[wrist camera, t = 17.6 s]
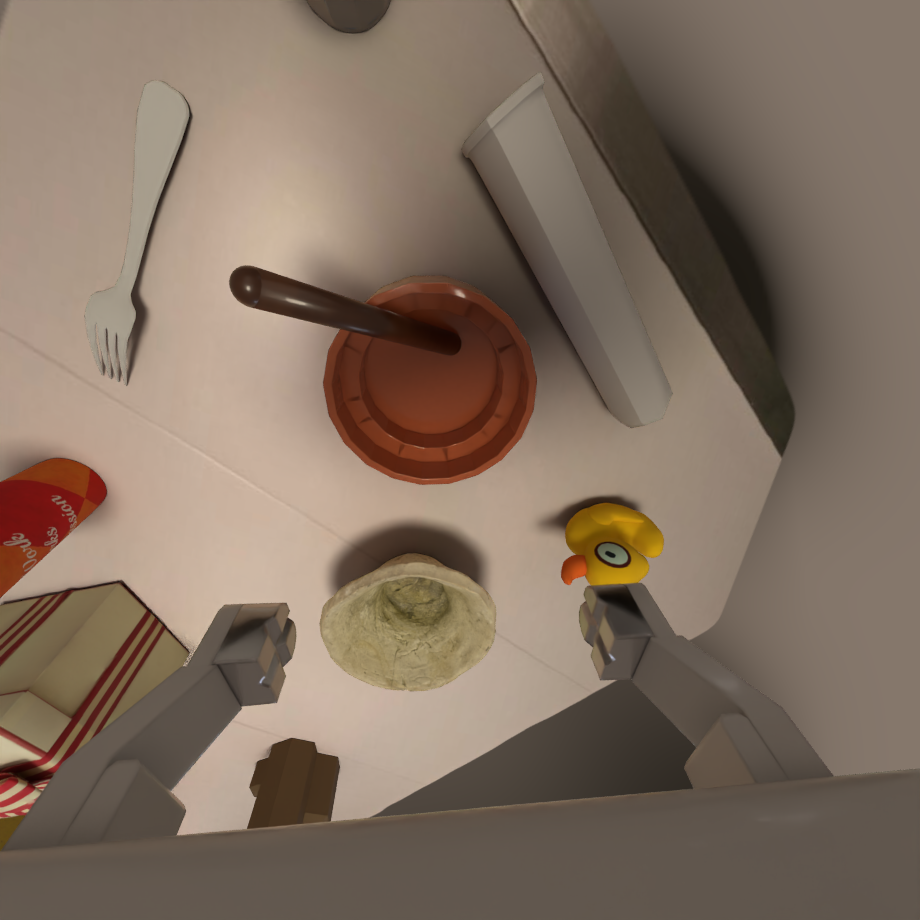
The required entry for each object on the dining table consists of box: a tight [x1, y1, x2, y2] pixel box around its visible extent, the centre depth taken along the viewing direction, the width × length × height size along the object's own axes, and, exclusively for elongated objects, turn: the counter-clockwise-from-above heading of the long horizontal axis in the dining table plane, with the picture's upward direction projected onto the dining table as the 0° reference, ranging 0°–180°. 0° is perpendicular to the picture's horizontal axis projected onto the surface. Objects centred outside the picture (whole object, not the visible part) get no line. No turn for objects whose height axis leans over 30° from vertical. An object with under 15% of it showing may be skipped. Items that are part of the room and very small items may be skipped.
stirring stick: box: [229, 266, 462, 356], centre depth 24 cm, size 2×2×17 cm
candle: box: [247, 738, 340, 829], centre depth 59 cm, size 14×14×15 cm
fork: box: [85, 80, 190, 385], centre depth 26 cm, size 3×21×3 cm, turn 148°
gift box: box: [0, 583, 189, 819], centre depth 39 cm, size 17×18×17 cm
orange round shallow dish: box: [323, 276, 537, 485], centre depth 30 cm, size 15×15×6 cm
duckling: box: [561, 503, 664, 586], centre depth 38 cm, size 11×5×10 cm, turn 94°
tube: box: [462, 72, 673, 428], centre depth 28 cm, size 5×5×25 cm
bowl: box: [320, 553, 496, 691], centre depth 39 cm, size 14×18×15 cm
